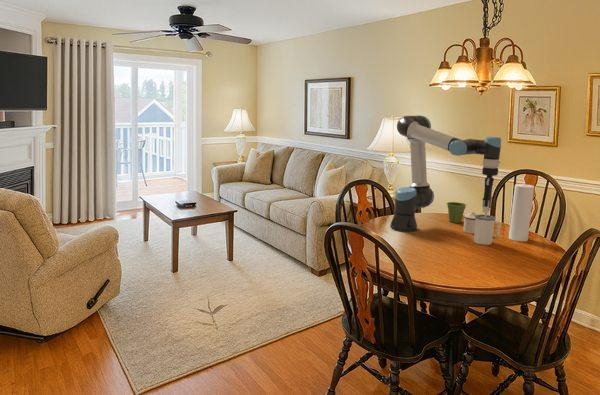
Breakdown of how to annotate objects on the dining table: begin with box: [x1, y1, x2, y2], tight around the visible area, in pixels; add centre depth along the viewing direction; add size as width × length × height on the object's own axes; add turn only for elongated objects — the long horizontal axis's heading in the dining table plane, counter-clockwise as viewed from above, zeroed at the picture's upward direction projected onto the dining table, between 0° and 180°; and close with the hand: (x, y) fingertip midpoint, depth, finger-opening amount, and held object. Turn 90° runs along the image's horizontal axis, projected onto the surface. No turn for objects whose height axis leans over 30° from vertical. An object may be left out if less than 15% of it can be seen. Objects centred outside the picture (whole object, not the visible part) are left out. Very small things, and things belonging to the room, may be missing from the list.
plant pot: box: [446, 201, 468, 224], centre depth 287 cm, size 12×12×11 cm
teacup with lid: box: [462, 211, 478, 235], centre depth 266 cm, size 12×9×12 cm
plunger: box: [481, 196, 493, 218], centre depth 244 cm, size 6×6×20 cm
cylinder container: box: [508, 183, 535, 242], centre depth 251 cm, size 9×9×30 cm
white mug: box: [473, 214, 501, 246], centre depth 244 cm, size 12×9×14 cm
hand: (486, 211), depth 243 cm, fingers closed on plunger, 4 cm apart
